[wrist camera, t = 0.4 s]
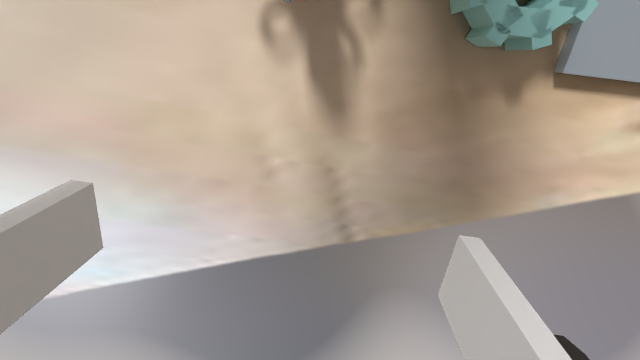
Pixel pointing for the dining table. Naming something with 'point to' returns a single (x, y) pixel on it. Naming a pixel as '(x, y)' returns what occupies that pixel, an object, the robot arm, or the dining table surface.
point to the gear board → (604, 43)
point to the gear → (519, 20)
